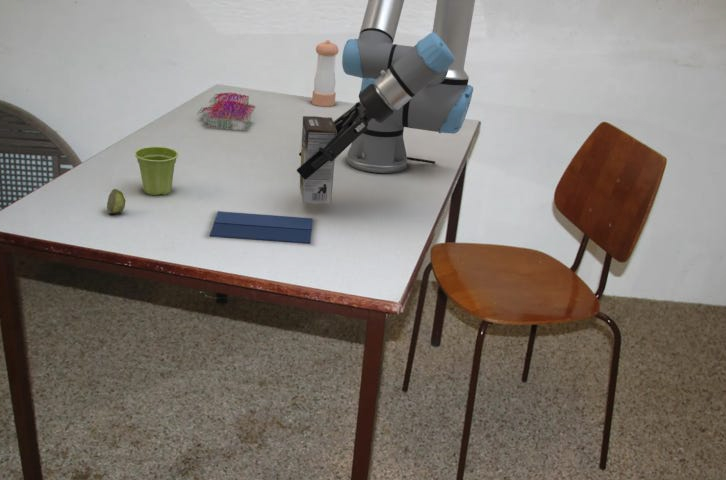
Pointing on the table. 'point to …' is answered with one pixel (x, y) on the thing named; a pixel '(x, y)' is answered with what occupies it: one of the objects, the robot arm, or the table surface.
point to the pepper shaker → (325, 75)
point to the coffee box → (313, 137)
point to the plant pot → (156, 168)
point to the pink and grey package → (227, 110)
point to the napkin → (262, 227)
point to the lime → (115, 202)
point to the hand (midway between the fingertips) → (302, 166)
